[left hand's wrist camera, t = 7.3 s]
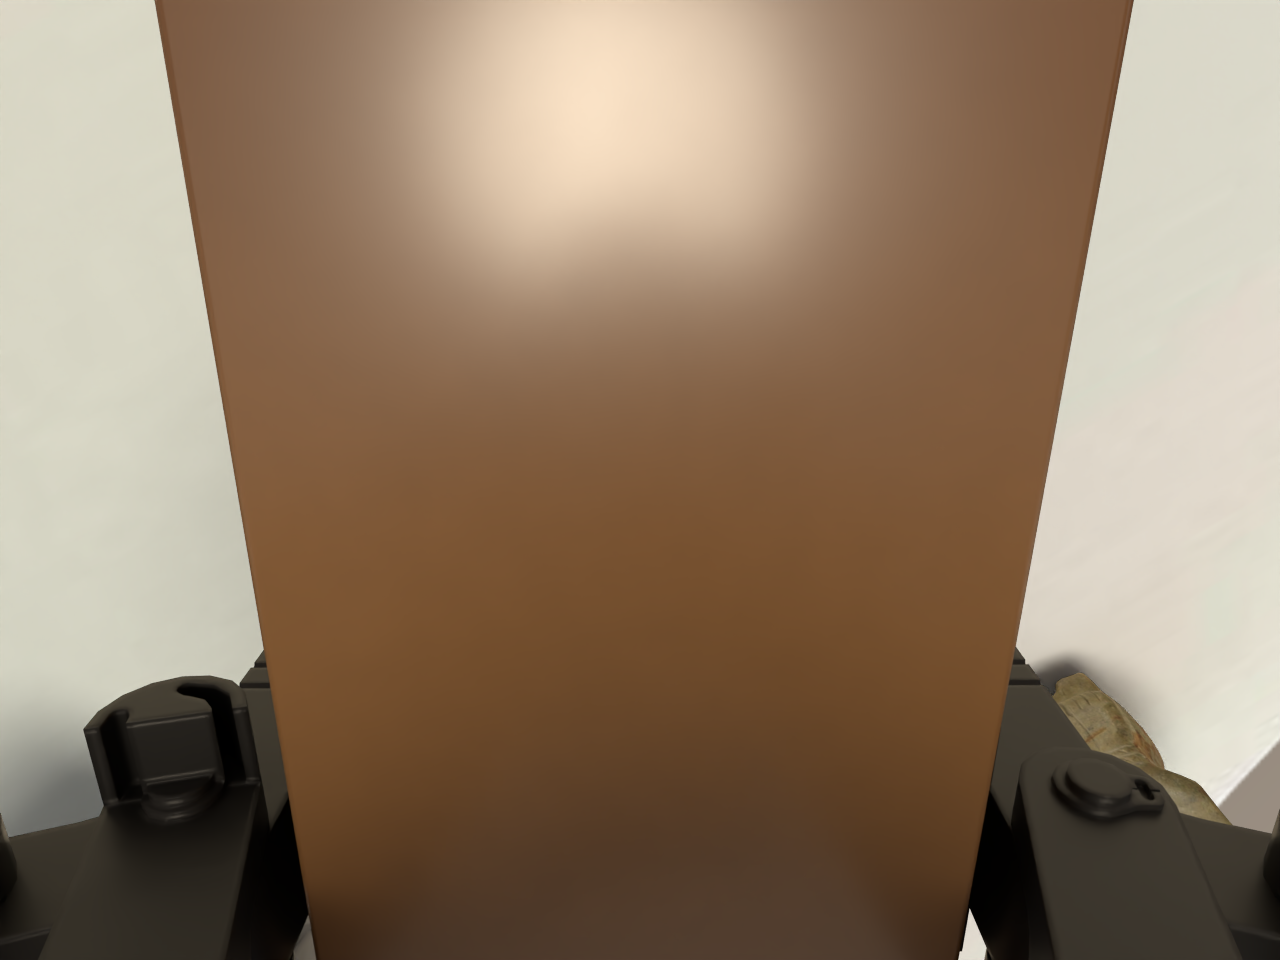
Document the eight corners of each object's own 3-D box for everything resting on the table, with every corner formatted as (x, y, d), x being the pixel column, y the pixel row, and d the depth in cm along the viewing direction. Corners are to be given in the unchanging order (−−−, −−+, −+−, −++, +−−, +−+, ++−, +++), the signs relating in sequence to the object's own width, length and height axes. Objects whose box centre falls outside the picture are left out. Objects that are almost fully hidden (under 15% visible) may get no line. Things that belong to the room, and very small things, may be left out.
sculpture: (1020, 809, 41) (1220, 1160, 27) (973, 688, 38) (1165, 1005, 24) (1146, 764, 40) (1421, 1103, 26) (1106, 638, 38) (1384, 937, 24)
